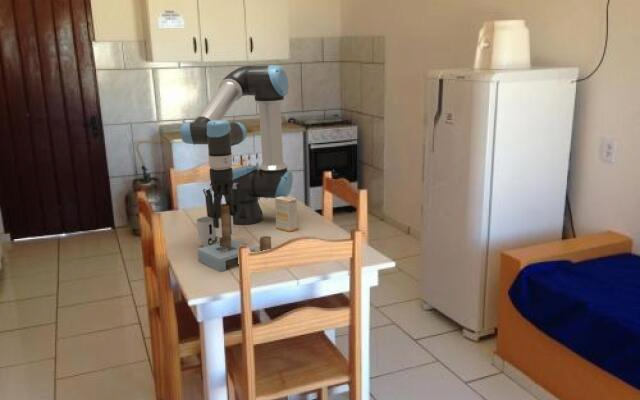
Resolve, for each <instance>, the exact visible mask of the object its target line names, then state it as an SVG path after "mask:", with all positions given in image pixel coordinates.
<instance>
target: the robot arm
mask: <svg viewBox="0 0 640 400" xmlns="http://www.w3.org/2000/svg"><path fill="white" fill-rule="evenodd" d="M288 78H289V77H288V74H287V72H286V71H285V69H284V68H283V67H282V66H281V65H274V64H266V65H243V66H240V67H238V68H236V69H234V70H233V71H230V73H227V75H226V76H224V78H222V80H221V81H220V83H219V86H218V90H217V91H216V92H215V94H214V95H213V96H212V97H211V99H210V100H209V101H208V103H207V104H206V105H205V106H204V107H203V108H202V111H201V112H200V113H199V114H198V115H197V116H196V118H195V119H194V121H193V122H191V121H188V122H183V123H182V125H181V127H180V133H179V134H180V139H181V140H182V142H183V143H184V144H186V145H187V144H189V145H194V146H195V145H207V149H208V152H207V153H208V166H209V168H210V169H209V179H210V184H209V186H208V187H207V188H203V190H202V192H203V194H204V196H205V198H204V199H205V207H206V217H210V218H213V226H214V228H215V229H216V236H218V238H219V237H220V238H221V237H222V224H221V218H219V213H220V204H222V203H221V201H222V199H223V197H224V201H225V204H229V210H230V227H231V235H234V234H235V231H234V225H241V226H242V225H252V224H253V225H254V224H257V223H260V222H262V221H263V220H264V213H263V211H262V208H261V205H260V202H259V198H263V199H264V198H266V199H275V198H277V197H280V196H286V197H289V195H290V193H291V189H292V187H293V181H294V180H293V178H294V177H293V172H292V171H291V170H288V164H287V163H285V162H284V152H283V151H284V150H283V131H282V130H283V128H282V114H281V113H282V111H281V110H282V108H281V104H282V102H284V100H285V96H287V95H288V93H289V86H290V85H289V79H288ZM245 96H253V97H254V102H256V103H257V104H258V113H259V114H258V115H259V127H260V143H261V144H260V145H261V160H262V163H261V164H260V165H259V166H258V167H257V165H255V164H254V165H252V164H251V165H244V166H243V165H242V166H238V167H234V168H233V160H232V158H233V157H232V147H234V146H237V145H240V144H241V143H243V141H245V139H246V138H247V129H246V127H245V125H244V124H243V123H241V122H238V121H233V122H229V120H227V119H224V117H225V116H226V114H227V113H228V112H229V110H230V109H231V107H233V105H234V104H235V102H236V101H239V100H240V99H241V98H242V97H245ZM212 194H213V195H212Z"/></svg>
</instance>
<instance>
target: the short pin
mask: <svg viewBox="0 0 640 400" xmlns="http://www.w3.org/2000/svg"><path fill="white" fill-rule="evenodd" d="M267 249H271V250H272V237H271V236H268V235H262V236H261V237H259V252H260V251H263V250H267Z"/></svg>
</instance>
